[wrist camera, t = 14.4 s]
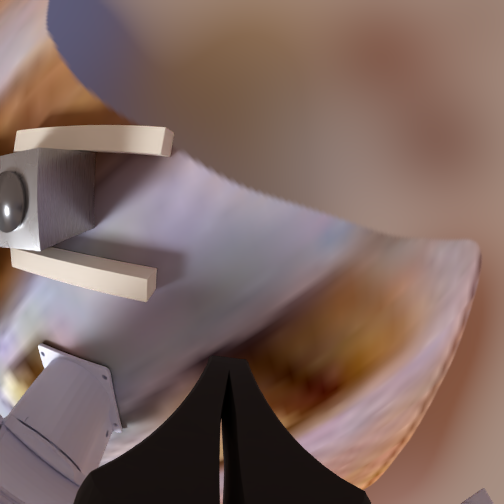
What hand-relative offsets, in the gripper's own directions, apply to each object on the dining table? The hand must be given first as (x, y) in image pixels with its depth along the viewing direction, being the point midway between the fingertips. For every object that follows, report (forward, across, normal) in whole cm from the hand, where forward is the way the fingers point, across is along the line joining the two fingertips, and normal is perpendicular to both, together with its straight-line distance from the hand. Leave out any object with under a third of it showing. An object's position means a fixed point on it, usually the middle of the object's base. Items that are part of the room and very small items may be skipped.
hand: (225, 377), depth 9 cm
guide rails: (+8, +11, -4) cm, 14 cm away
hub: (+8, +12, -5) cm, 16 cm away
